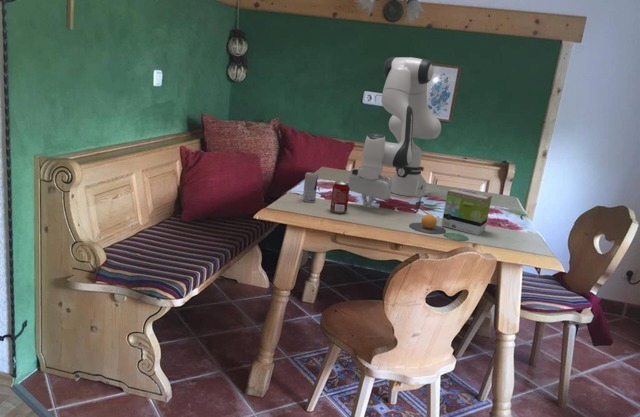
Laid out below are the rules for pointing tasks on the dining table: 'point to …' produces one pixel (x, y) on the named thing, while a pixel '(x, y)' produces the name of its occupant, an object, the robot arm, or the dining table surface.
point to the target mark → (421, 228)
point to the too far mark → (456, 236)
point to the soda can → (339, 197)
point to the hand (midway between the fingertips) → (366, 205)
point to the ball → (429, 221)
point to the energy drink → (310, 187)
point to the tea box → (466, 211)
